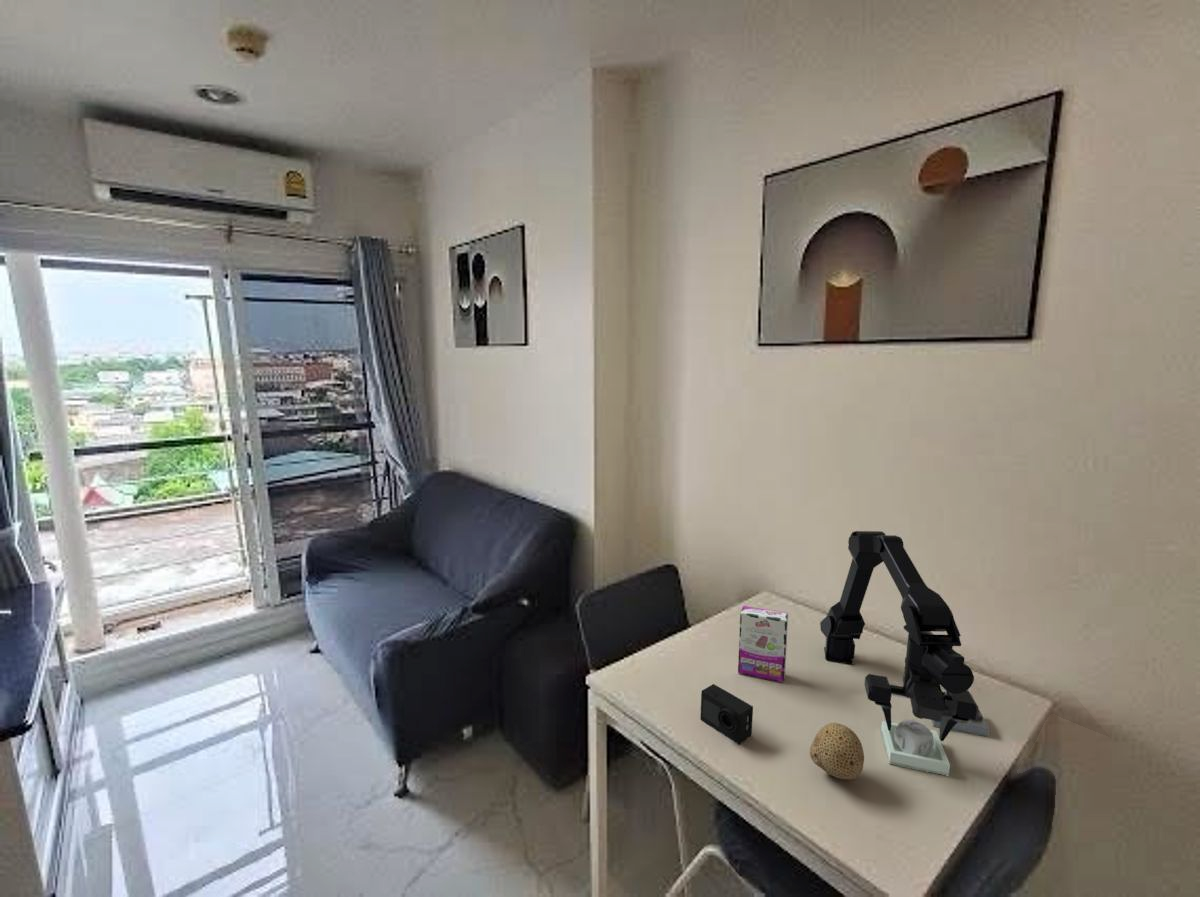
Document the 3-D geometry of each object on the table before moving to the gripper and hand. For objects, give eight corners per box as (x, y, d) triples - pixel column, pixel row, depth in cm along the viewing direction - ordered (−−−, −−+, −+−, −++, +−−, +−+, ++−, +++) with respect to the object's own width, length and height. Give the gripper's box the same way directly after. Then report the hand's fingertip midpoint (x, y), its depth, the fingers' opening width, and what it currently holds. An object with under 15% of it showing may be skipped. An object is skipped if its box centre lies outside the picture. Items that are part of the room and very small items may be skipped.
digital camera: (695, 721, 117) (697, 692, 116) (711, 711, 121) (713, 683, 119) (735, 747, 109) (737, 716, 108) (751, 736, 113) (753, 705, 112)
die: (892, 744, 110) (894, 721, 109) (911, 738, 111) (913, 716, 110) (913, 761, 105) (916, 737, 104) (933, 755, 107) (935, 732, 106)
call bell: (933, 726, 116) (935, 707, 115) (925, 706, 123) (927, 689, 122) (988, 736, 113) (990, 717, 112) (977, 716, 119) (979, 698, 119)
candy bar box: (785, 673, 136) (789, 612, 133) (783, 684, 131) (788, 620, 128) (739, 663, 140) (742, 604, 137) (736, 673, 135) (740, 612, 133)
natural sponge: (874, 791, 98) (879, 742, 97) (830, 799, 96) (835, 749, 95) (842, 756, 107) (846, 710, 105) (801, 763, 105) (805, 716, 104)
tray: (889, 763, 105) (890, 752, 105) (881, 731, 114) (882, 720, 114) (948, 776, 102) (950, 764, 101) (934, 742, 111) (936, 731, 111)
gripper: (876, 675, 100) (868, 750, 103) (994, 695, 95) (983, 775, 97) (867, 646, 111) (861, 715, 113) (973, 662, 105) (964, 735, 107)
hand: (914, 734), depth 108 cm, fingers open, 9 cm apart
